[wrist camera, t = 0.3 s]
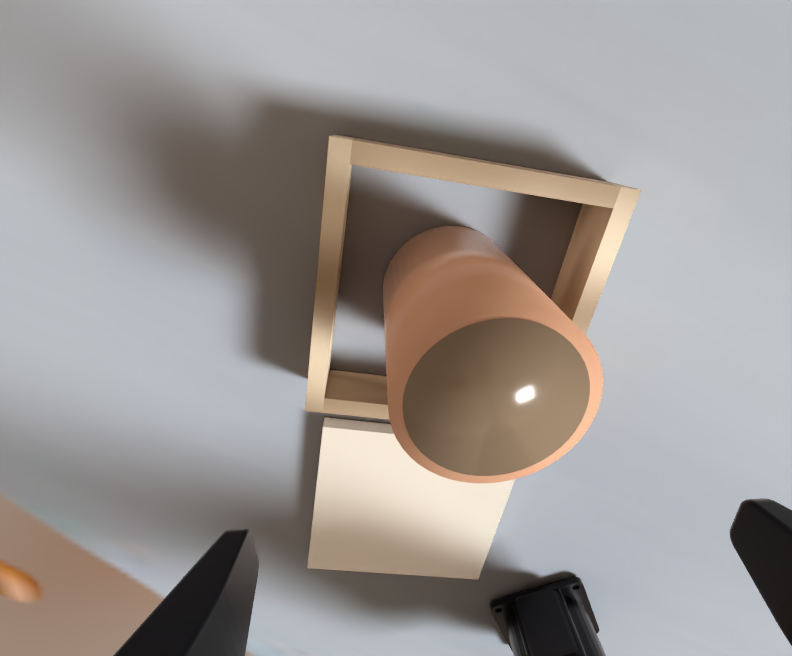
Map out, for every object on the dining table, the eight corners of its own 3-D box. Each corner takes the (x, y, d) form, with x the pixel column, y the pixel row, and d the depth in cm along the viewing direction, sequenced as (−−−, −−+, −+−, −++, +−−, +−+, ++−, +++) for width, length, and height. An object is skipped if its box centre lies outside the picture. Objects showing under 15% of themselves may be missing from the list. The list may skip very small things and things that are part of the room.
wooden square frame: (529, 405, 23) (546, 436, 21) (312, 381, 22) (305, 410, 20) (608, 181, 18) (641, 190, 16) (335, 134, 17) (329, 136, 15)
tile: (475, 567, 29) (478, 579, 28) (309, 556, 28) (307, 568, 27) (522, 437, 24) (526, 447, 23) (324, 417, 23) (322, 427, 22)
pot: (525, 319, 21) (621, 446, 13) (411, 363, 22) (433, 509, 14) (488, 203, 19) (578, 267, 10) (361, 257, 19) (351, 357, 11)
